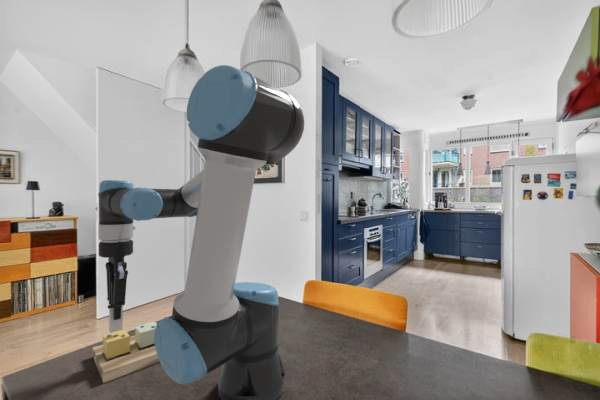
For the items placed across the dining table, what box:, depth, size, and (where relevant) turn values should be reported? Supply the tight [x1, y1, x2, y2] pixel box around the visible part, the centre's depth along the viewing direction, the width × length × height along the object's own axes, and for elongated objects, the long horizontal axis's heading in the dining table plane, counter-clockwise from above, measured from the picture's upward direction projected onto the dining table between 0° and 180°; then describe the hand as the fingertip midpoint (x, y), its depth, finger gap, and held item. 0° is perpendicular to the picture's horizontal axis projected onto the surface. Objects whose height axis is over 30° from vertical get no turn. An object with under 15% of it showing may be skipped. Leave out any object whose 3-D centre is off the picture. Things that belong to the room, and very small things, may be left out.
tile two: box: [134, 321, 158, 348], centre depth 79 cm, size 5×5×4 cm
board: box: [92, 334, 160, 384], centre depth 79 cm, size 15×23×2 cm, turn 134°
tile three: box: [102, 329, 131, 359], centre depth 74 cm, size 5×5×4 cm
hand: (115, 330), depth 74 cm, fingers closed
